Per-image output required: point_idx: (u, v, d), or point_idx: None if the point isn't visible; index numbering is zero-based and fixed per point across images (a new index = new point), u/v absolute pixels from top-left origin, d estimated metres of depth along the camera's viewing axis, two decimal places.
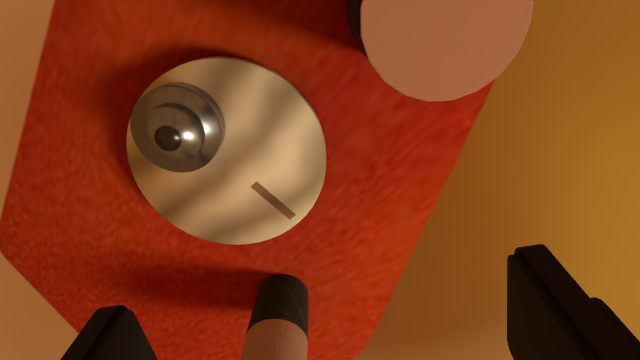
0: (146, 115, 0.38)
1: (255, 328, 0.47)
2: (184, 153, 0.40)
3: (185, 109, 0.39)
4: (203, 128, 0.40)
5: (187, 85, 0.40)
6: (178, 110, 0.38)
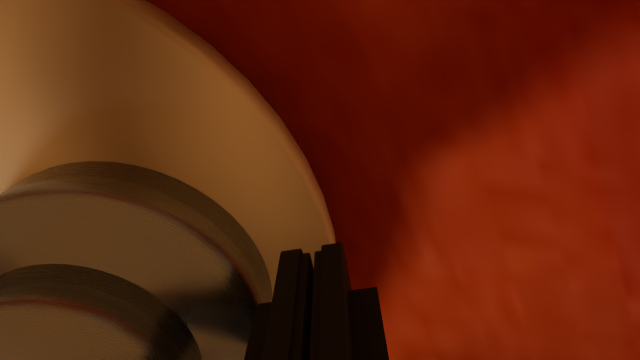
0: None
1: None
2: None
3: None
4: None
5: None
6: None
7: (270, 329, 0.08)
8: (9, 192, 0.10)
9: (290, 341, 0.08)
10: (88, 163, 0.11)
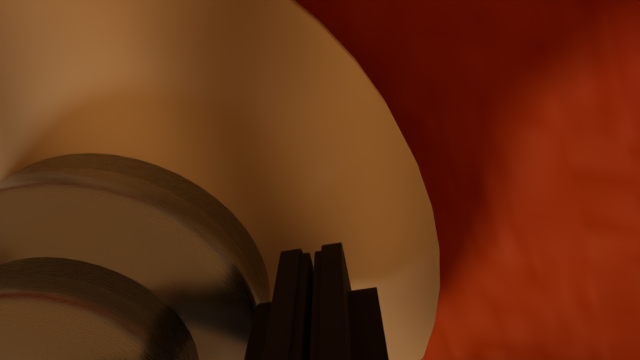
0: None
1: None
2: None
3: None
4: None
5: None
6: None
7: (270, 329, 0.08)
8: (7, 182, 0.09)
9: (289, 341, 0.08)
10: (88, 155, 0.10)
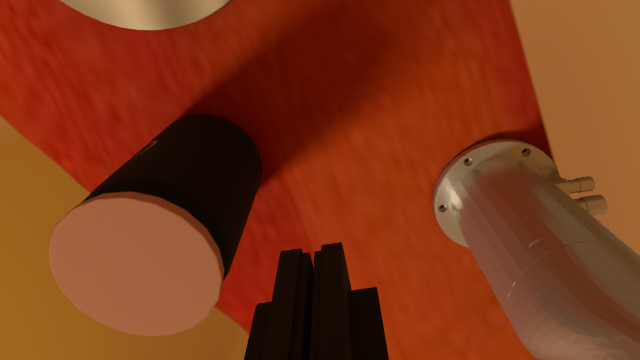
0: None
1: None
2: None
3: None
4: None
5: None
6: None
7: (270, 329, 0.08)
8: None
9: (290, 341, 0.08)
10: None
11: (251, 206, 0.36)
